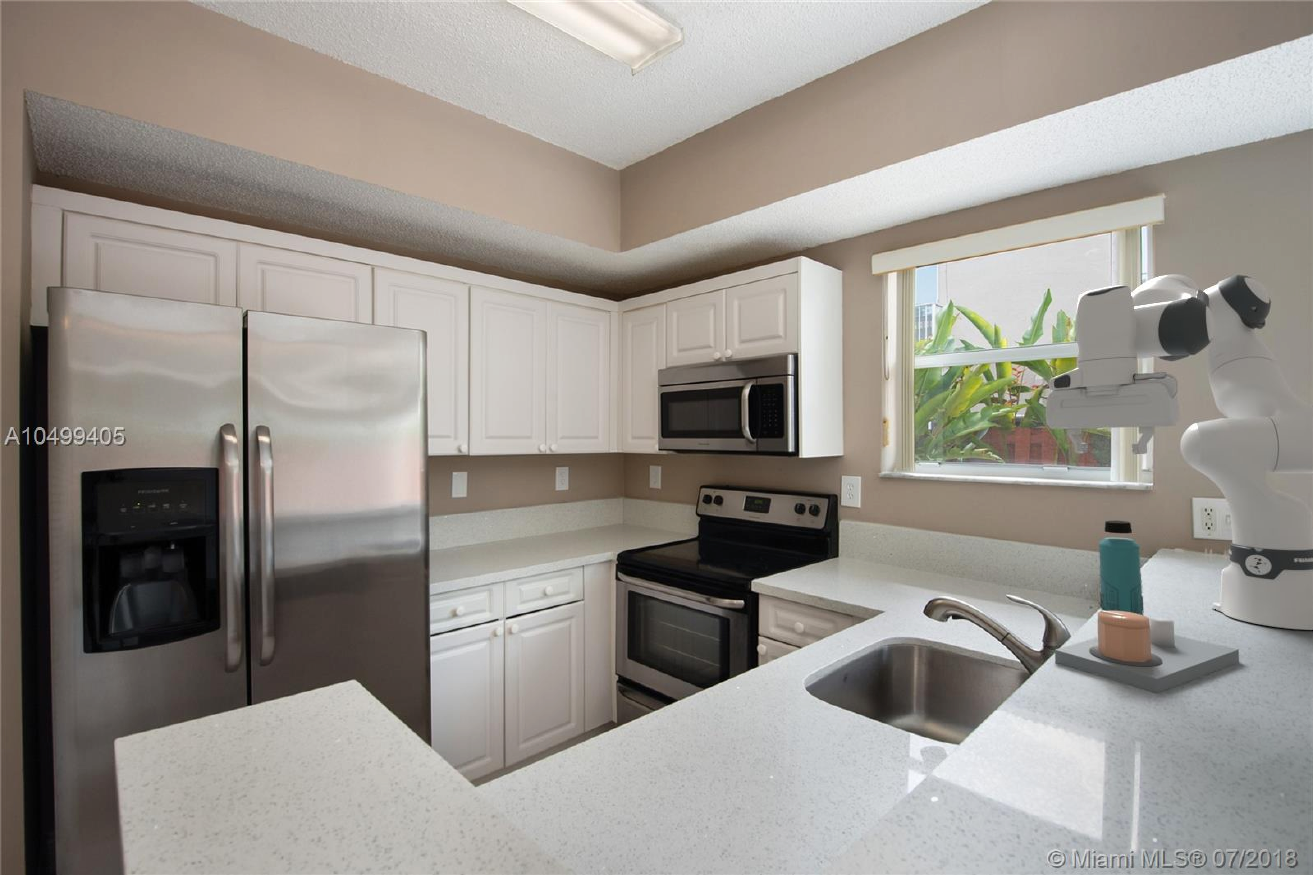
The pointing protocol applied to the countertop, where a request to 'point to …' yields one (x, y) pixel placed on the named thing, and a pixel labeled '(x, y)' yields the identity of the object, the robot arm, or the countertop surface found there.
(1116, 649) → the knob
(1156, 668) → the mount
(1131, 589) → the beverage bottle
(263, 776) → the countertop surface
